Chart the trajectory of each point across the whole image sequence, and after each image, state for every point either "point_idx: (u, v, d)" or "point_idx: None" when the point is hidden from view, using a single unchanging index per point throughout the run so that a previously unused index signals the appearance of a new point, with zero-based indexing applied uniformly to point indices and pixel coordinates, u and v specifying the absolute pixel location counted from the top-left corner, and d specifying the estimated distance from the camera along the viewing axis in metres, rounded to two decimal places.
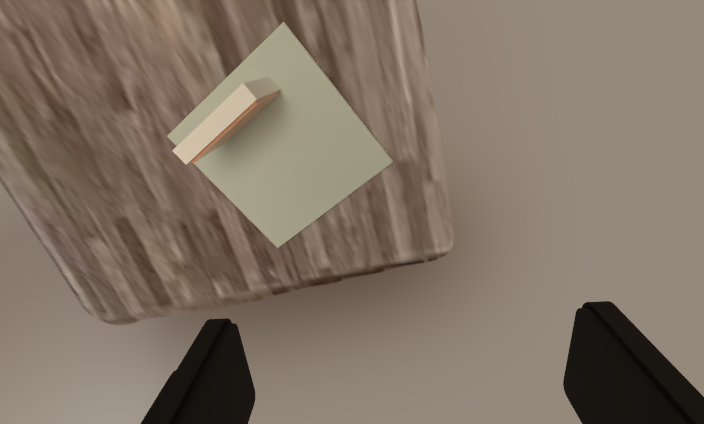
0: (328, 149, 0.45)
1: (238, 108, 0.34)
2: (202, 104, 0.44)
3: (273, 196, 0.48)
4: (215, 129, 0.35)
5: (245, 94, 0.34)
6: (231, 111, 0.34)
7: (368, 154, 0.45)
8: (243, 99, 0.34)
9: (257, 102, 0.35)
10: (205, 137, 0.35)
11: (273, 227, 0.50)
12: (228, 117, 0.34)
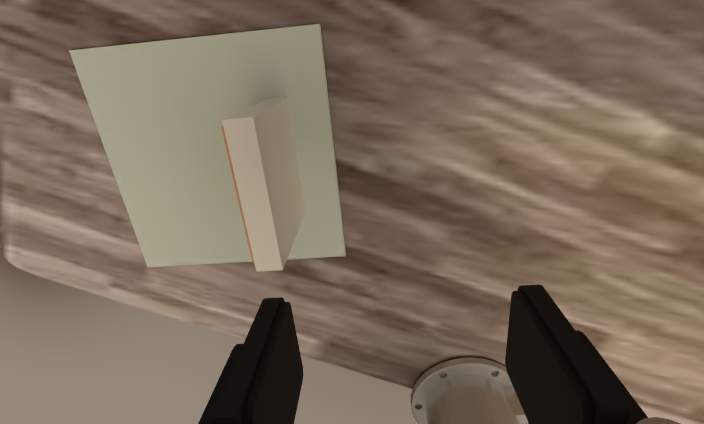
0: (193, 215, 0.34)
1: (258, 245, 0.24)
2: (326, 110, 0.30)
3: (159, 108, 0.30)
4: (248, 200, 0.23)
5: (268, 263, 0.24)
6: (259, 235, 0.23)
7: (167, 249, 0.36)
8: (264, 258, 0.24)
9: None
10: (245, 179, 0.22)
11: (109, 72, 0.30)
12: (254, 227, 0.23)
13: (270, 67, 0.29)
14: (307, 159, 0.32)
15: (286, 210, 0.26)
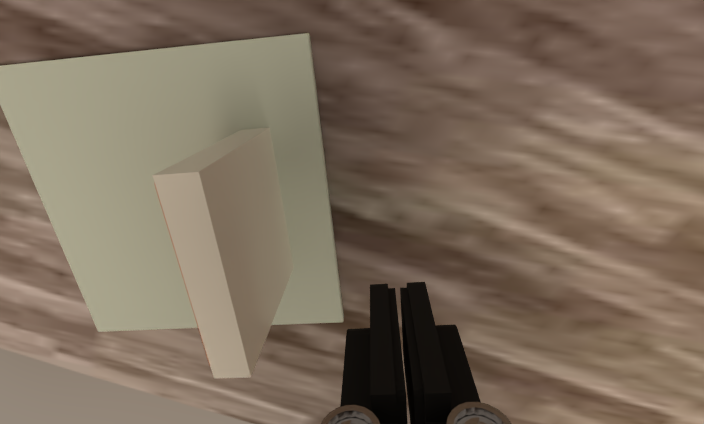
0: (151, 271, 0.27)
1: (214, 345, 0.17)
2: (317, 145, 0.23)
3: (103, 140, 0.24)
4: (198, 286, 0.15)
5: (231, 369, 0.17)
6: (215, 333, 0.16)
7: (122, 311, 0.29)
8: (225, 361, 0.17)
9: None
10: (192, 258, 0.15)
11: (37, 95, 0.23)
12: (208, 321, 0.16)
13: (245, 90, 0.22)
14: (294, 205, 0.25)
15: (260, 285, 0.19)
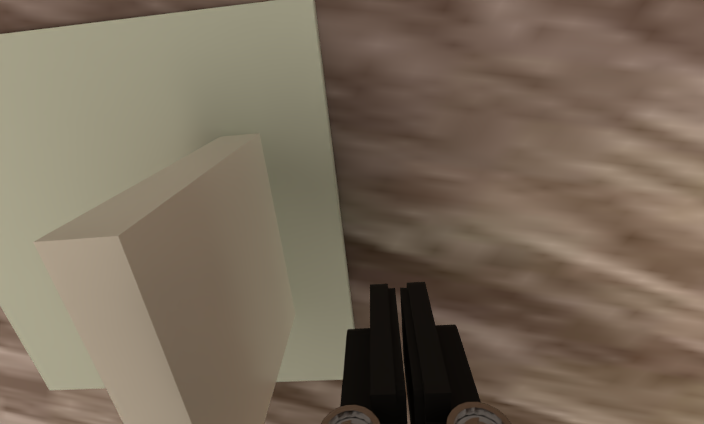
0: None
1: None
2: (326, 156, 0.17)
3: (31, 152, 0.17)
4: (138, 413, 0.09)
5: None
6: None
7: (77, 367, 0.23)
8: None
9: None
10: (123, 374, 0.09)
11: None
12: None
13: (223, 80, 0.16)
14: (295, 236, 0.18)
15: (248, 370, 0.13)
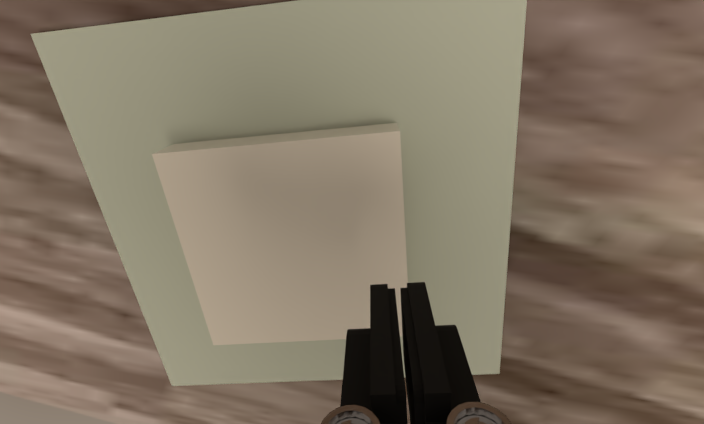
0: None
1: None
2: (510, 141, 0.16)
3: (199, 138, 0.17)
4: None
5: None
6: None
7: (205, 362, 0.22)
8: None
9: None
10: None
11: (107, 75, 0.16)
12: None
13: (416, 61, 0.15)
14: (460, 225, 0.18)
15: (267, 295, 0.17)
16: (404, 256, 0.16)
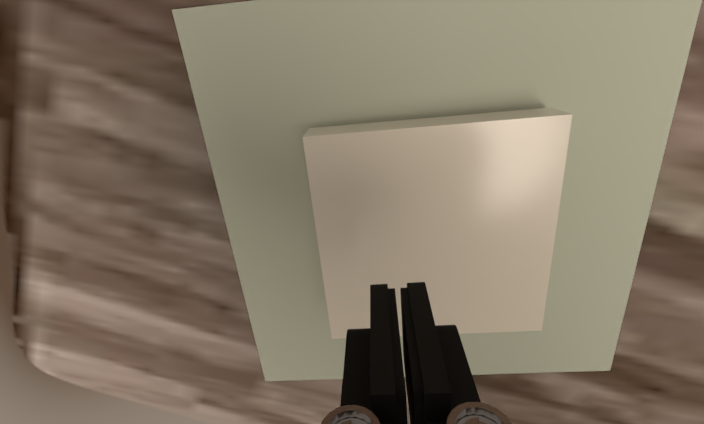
0: None
1: None
2: (663, 128, 0.15)
3: (335, 123, 0.16)
4: None
5: None
6: None
7: (304, 356, 0.21)
8: None
9: None
10: None
11: (247, 54, 0.15)
12: None
13: (579, 43, 0.14)
14: (596, 216, 0.17)
15: (398, 287, 0.17)
16: (551, 247, 0.16)
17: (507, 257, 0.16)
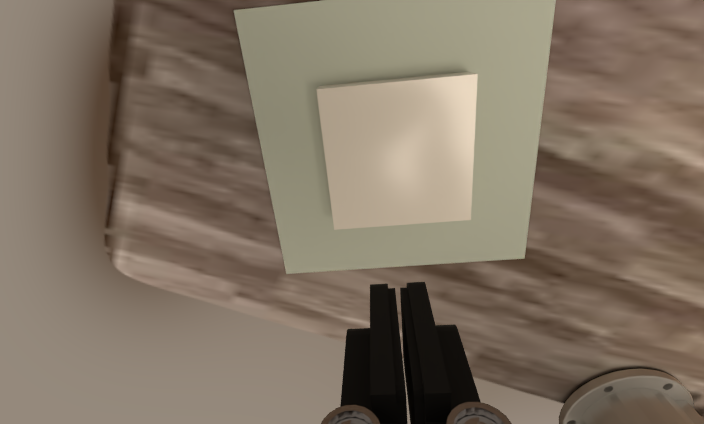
0: None
1: None
2: (541, 85, 0.25)
3: (335, 83, 0.25)
4: None
5: None
6: None
7: (314, 253, 0.31)
8: None
9: None
10: None
11: (280, 38, 0.24)
12: None
13: (485, 31, 0.23)
14: (505, 145, 0.26)
15: (377, 190, 0.26)
16: (472, 160, 0.25)
17: (445, 168, 0.25)
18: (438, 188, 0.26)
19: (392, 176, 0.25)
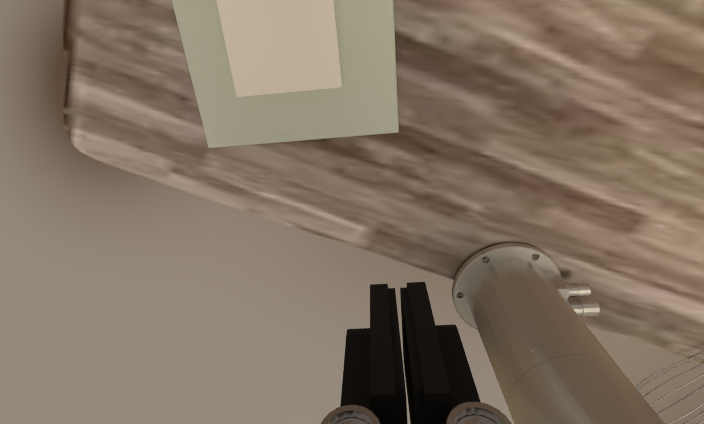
0: None
1: None
2: None
3: None
4: None
5: None
6: None
7: (229, 128, 0.38)
8: None
9: None
10: None
11: None
12: None
13: None
14: (368, 28, 0.34)
15: (266, 60, 0.33)
16: (335, 33, 0.32)
17: (315, 40, 0.32)
18: (312, 58, 0.33)
19: (276, 48, 0.33)
